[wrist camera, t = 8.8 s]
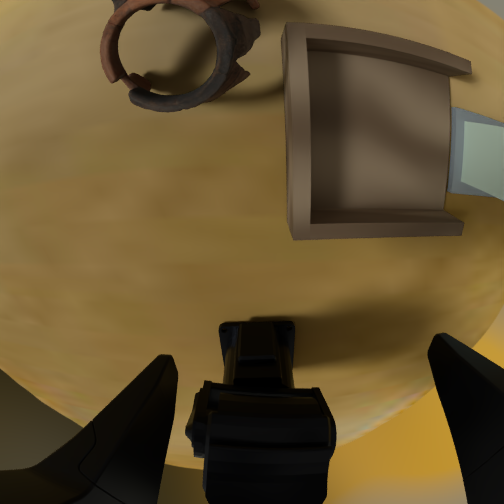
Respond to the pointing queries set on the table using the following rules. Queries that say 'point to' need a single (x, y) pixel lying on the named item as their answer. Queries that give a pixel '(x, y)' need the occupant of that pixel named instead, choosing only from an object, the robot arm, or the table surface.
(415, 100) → the walnut crate
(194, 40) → the table surface
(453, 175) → the slate tile
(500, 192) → the sage block
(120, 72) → the pottery mug
